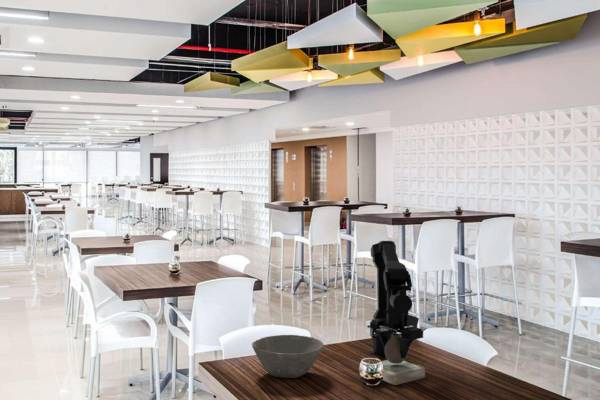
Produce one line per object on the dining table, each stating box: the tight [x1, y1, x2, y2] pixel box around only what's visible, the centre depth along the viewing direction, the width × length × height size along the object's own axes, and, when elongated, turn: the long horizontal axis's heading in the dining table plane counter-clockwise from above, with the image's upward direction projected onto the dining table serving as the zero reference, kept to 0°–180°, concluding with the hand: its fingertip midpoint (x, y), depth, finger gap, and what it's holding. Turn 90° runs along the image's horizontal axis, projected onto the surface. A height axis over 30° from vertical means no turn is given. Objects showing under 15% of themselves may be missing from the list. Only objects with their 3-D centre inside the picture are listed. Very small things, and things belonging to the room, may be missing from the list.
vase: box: [385, 333, 407, 364], centre depth 178 cm, size 7×7×9 cm
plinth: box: [380, 359, 426, 386], centre depth 178 cm, size 13×13×3 cm
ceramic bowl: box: [251, 334, 324, 379], centre depth 179 cm, size 22×23×10 cm
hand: (395, 355), depth 178 cm, fingers closed on vase, 7 cm apart
